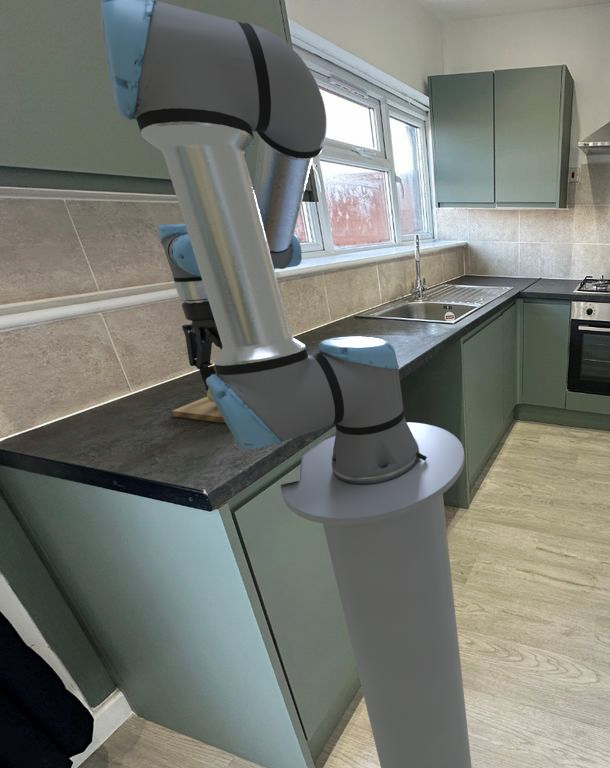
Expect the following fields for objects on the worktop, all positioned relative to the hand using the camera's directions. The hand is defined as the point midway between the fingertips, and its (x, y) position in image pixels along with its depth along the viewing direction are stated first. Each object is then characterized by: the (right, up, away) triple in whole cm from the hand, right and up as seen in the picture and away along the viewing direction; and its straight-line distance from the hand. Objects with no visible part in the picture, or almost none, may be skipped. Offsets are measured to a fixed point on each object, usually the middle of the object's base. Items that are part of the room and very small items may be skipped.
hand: (230, 395), depth 98 cm
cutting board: (0, -3, +1) cm, 3 cm away
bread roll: (0, 0, 0) cm, 1 cm away
